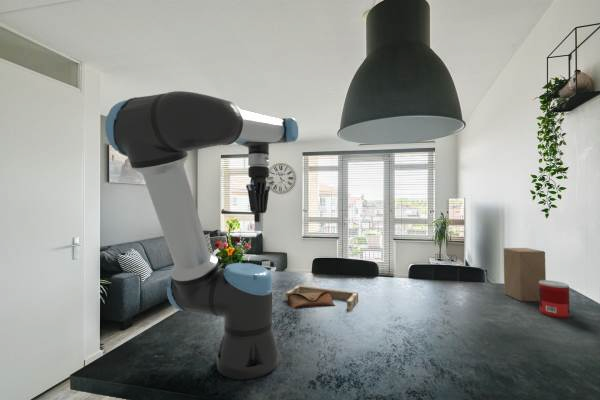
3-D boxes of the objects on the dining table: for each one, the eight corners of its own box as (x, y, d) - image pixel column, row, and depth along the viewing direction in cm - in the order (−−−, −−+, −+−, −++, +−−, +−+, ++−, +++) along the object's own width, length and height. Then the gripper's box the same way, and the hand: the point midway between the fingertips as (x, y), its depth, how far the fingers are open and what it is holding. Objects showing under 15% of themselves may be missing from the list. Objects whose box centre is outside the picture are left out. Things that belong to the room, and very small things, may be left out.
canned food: (575, 319, 96) (574, 286, 96) (548, 317, 97) (547, 285, 98) (559, 311, 103) (559, 280, 104) (534, 309, 105) (534, 279, 105)
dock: (350, 309, 105) (350, 301, 106) (285, 300, 117) (285, 292, 117) (358, 300, 116) (358, 292, 116) (297, 292, 127) (297, 285, 128)
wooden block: (546, 301, 113) (545, 251, 114) (521, 301, 114) (520, 251, 114) (527, 294, 123) (526, 247, 124) (503, 294, 124) (502, 247, 124)
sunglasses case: (290, 309, 106) (289, 290, 110) (288, 312, 112) (286, 295, 116) (336, 305, 110) (334, 288, 113) (332, 309, 116) (329, 292, 119)
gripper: (257, 163, 98) (257, 232, 98) (276, 168, 110) (276, 229, 110) (239, 165, 101) (239, 231, 101) (259, 169, 113) (259, 229, 113)
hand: (258, 230), depth 105 cm, fingers closed
